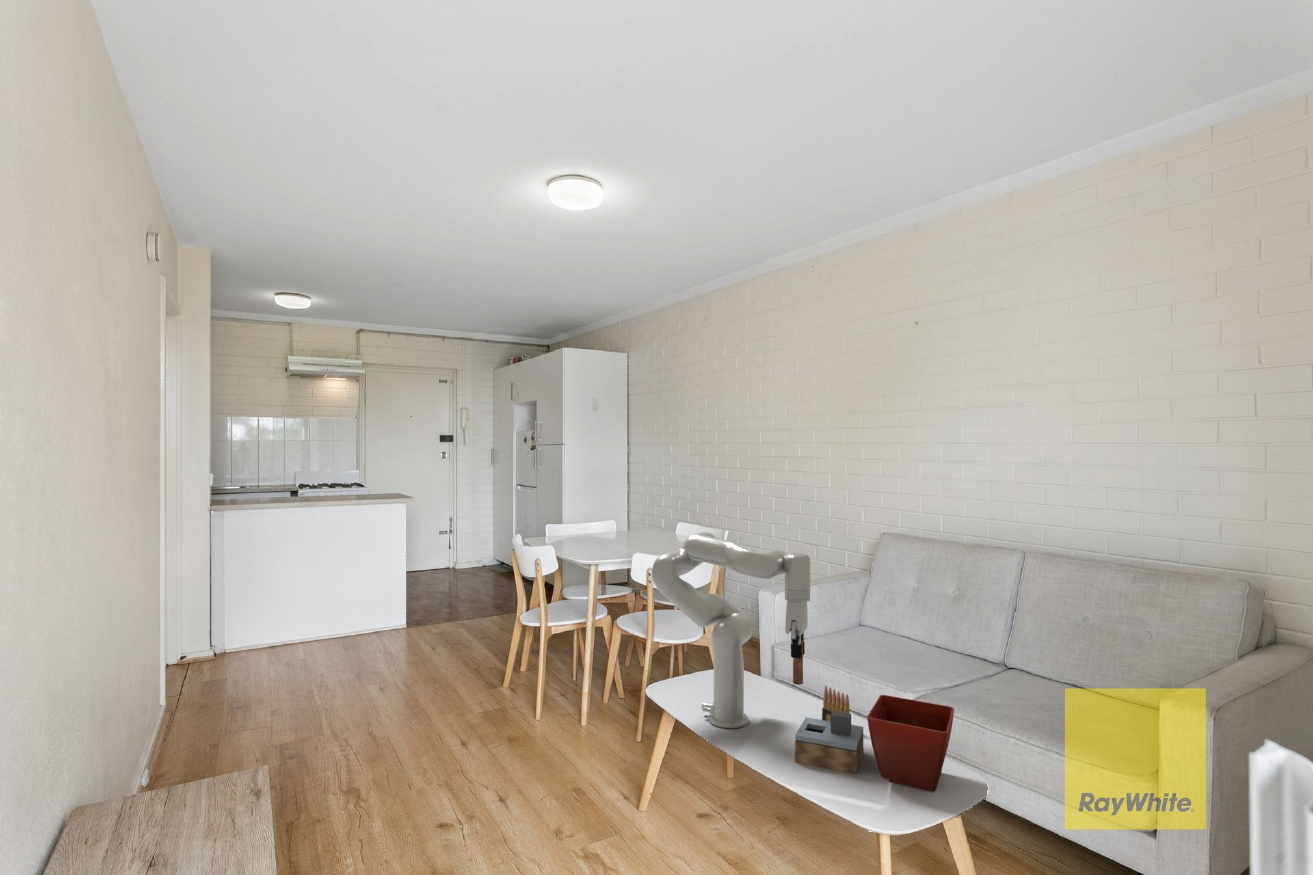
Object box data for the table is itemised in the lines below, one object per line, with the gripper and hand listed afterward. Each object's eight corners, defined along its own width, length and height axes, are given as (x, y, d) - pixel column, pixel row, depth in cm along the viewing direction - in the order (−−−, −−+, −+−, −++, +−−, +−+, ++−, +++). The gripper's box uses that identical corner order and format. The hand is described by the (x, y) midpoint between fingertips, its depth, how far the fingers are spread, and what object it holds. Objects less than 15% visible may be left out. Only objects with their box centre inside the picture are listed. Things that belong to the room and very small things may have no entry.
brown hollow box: (795, 765, 179) (795, 740, 179) (805, 745, 192) (805, 722, 192) (856, 778, 172) (856, 751, 172) (863, 756, 185) (863, 732, 185)
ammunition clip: (851, 735, 199) (851, 694, 200) (847, 736, 198) (847, 695, 199) (826, 722, 209) (825, 684, 209) (821, 723, 208) (821, 685, 208)
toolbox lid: (795, 739, 179) (795, 716, 179) (805, 721, 192) (805, 699, 192) (856, 750, 172) (856, 726, 173) (863, 730, 185) (863, 708, 185)
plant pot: (947, 802, 160) (947, 731, 161) (866, 783, 169) (866, 716, 170) (955, 770, 177) (954, 706, 177) (880, 754, 186) (880, 693, 187)
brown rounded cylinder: (791, 683, 199) (791, 641, 200) (794, 680, 202) (794, 639, 202) (801, 685, 198) (801, 642, 198) (804, 682, 201) (803, 640, 201)
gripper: (791, 588, 210) (791, 647, 209) (778, 598, 195) (778, 661, 194) (815, 590, 207) (815, 650, 206) (804, 600, 192) (804, 665, 191)
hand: (797, 655), depth 200 cm, fingers closed on brown rounded cylinder, 3 cm apart
